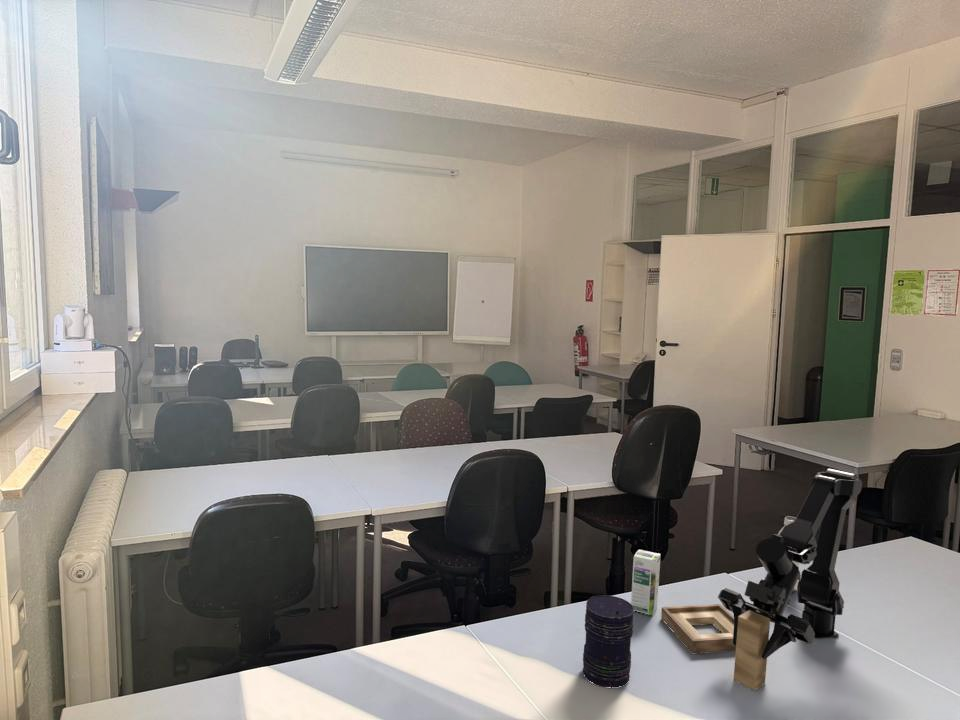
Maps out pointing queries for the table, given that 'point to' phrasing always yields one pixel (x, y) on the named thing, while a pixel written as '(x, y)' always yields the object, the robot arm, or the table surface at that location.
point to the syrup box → (645, 581)
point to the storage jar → (608, 640)
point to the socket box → (715, 614)
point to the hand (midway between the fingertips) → (748, 651)
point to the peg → (751, 649)
